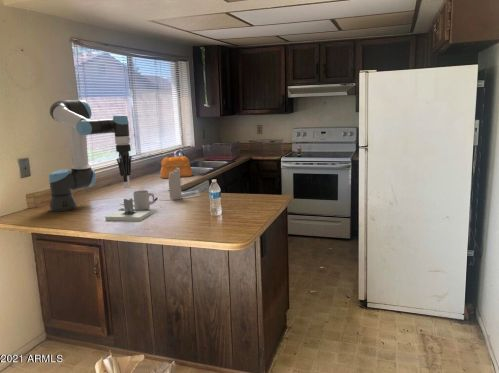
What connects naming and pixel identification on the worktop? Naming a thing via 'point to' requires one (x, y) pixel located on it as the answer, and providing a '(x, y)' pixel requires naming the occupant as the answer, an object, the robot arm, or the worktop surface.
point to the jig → (137, 216)
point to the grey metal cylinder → (128, 206)
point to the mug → (142, 199)
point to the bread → (176, 166)
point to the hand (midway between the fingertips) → (127, 187)
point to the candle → (174, 185)
